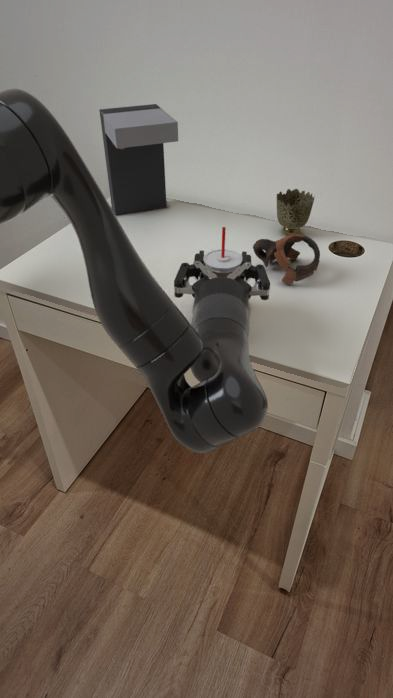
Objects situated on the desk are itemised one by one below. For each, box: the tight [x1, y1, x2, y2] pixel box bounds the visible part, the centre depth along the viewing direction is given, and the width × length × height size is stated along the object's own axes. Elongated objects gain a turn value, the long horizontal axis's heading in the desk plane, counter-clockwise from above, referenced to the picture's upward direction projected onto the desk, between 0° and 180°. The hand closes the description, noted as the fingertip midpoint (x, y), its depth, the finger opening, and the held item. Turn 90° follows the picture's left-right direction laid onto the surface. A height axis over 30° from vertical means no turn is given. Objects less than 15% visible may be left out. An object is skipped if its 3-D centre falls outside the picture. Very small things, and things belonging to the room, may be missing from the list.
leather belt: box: [252, 233, 321, 286], centre depth 87 cm, size 12×10×8 cm
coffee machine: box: [98, 103, 179, 216], centre depth 100 cm, size 14×12×21 cm
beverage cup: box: [203, 226, 242, 273], centre depth 75 cm, size 6×6×14 cm
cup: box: [276, 188, 315, 236], centre depth 98 cm, size 8×7×8 cm
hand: (222, 256), depth 76 cm, fingers closed on beverage cup, 6 cm apart
